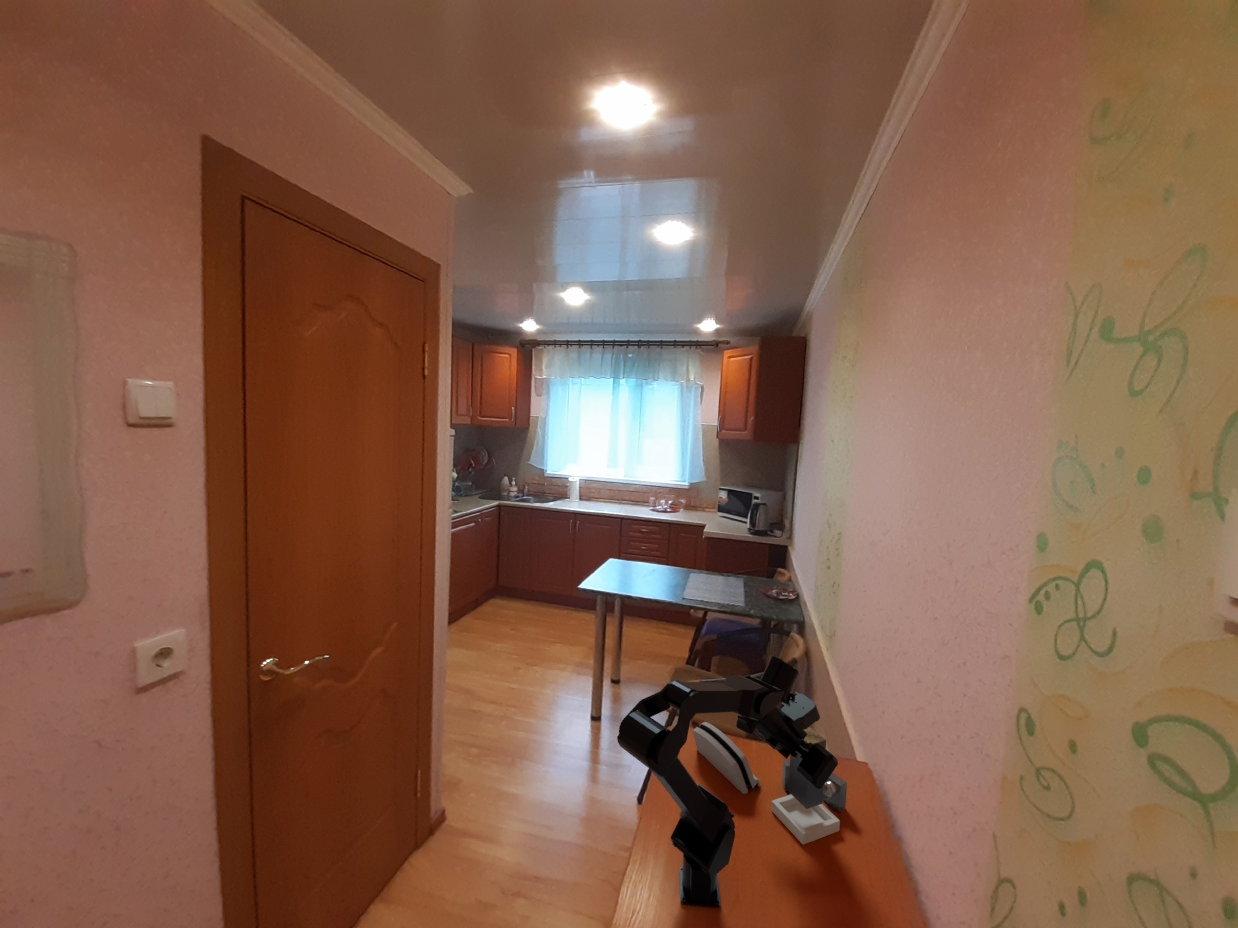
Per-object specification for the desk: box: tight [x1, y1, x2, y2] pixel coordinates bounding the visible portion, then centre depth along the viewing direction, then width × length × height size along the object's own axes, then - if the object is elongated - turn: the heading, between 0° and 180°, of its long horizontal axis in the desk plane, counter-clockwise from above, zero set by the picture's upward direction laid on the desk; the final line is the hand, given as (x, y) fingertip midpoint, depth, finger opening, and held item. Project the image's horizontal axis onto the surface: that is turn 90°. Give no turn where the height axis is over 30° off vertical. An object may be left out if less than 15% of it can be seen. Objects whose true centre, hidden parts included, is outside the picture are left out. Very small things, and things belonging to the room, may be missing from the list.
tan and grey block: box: [788, 726, 827, 809], centre depth 100 cm, size 5×4×13 cm
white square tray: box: [770, 794, 841, 846], centre depth 101 cm, size 9×9×2 cm
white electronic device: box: [692, 721, 761, 795], centre depth 115 cm, size 17×5×10 cm, turn 28°
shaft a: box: [823, 772, 848, 813], centre depth 105 cm, size 5×4×6 cm
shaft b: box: [781, 759, 790, 792], centre depth 108 cm, size 5×4×6 cm
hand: (812, 763), depth 100 cm, fingers closed on tan and grey block, 5 cm apart
